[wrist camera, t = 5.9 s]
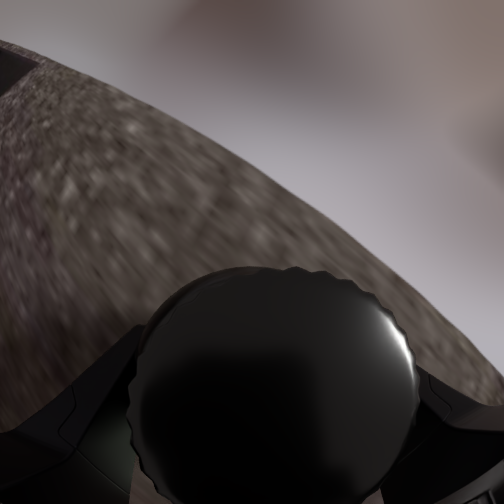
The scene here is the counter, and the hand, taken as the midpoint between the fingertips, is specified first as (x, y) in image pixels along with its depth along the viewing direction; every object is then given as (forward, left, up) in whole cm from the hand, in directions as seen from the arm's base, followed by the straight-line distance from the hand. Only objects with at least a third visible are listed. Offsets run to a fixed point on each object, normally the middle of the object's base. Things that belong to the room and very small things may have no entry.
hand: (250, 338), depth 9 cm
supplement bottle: (-1, -1, -7) cm, 7 cm away
